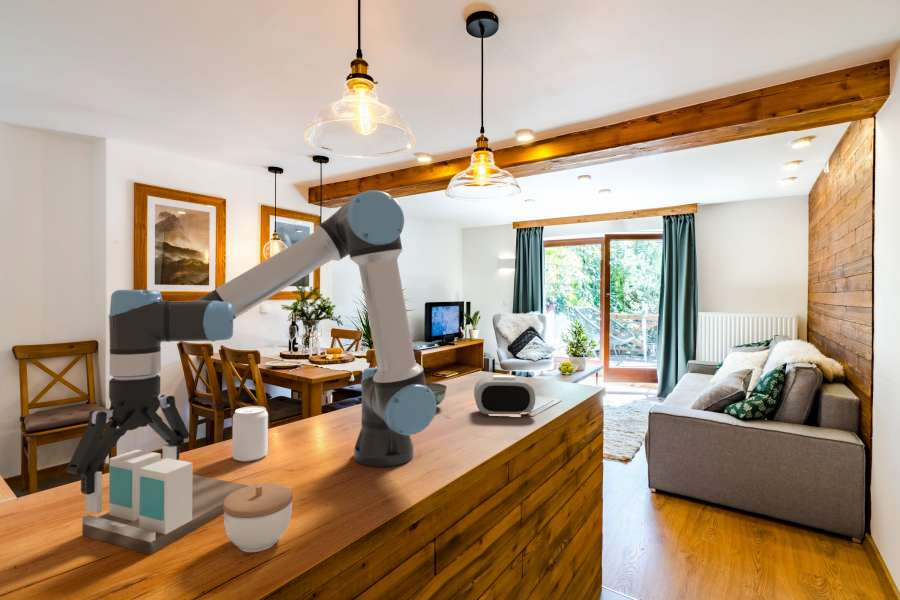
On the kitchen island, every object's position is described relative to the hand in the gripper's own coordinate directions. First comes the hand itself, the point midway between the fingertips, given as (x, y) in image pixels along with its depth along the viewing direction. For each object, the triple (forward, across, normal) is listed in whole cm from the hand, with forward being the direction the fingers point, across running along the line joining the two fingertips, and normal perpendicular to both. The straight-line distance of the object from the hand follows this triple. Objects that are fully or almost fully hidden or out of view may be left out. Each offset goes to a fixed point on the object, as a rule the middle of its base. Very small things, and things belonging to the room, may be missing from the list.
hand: (134, 494), depth 80 cm
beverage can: (+5, -33, -5) cm, 34 cm away
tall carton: (+3, 0, 0) cm, 3 cm away
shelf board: (+5, -5, +4) cm, 8 cm away
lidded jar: (+5, -3, +25) cm, 26 cm away
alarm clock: (+5, -98, +46) cm, 108 cm away
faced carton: (+3, +1, +9) cm, 10 cm away
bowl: (+5, -96, +18) cm, 98 cm away
